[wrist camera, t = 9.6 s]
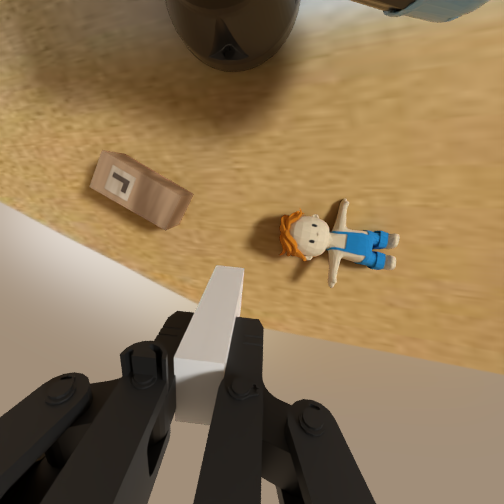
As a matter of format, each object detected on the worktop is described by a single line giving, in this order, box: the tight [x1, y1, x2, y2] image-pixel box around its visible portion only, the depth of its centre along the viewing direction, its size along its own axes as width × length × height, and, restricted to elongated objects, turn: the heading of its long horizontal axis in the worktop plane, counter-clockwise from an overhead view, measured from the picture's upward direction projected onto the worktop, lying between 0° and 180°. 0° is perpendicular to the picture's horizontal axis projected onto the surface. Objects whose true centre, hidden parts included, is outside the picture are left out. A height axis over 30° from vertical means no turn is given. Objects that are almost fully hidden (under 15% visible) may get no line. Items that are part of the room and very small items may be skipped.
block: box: [89, 150, 194, 230], centre depth 34 cm, size 5×5×11 cm
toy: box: [279, 199, 399, 288], centre depth 33 cm, size 12×6×15 cm
